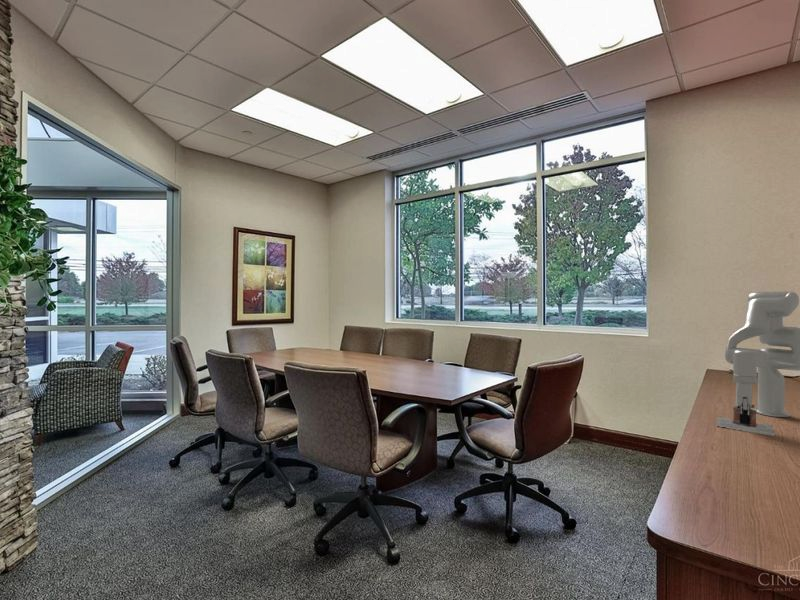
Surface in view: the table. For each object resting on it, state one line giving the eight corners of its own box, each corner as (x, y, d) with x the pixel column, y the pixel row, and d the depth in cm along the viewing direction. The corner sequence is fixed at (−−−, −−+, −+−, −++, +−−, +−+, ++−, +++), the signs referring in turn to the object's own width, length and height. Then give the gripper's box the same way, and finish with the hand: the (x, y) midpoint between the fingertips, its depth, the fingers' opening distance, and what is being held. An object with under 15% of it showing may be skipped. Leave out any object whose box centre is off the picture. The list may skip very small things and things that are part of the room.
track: (717, 420, 178) (717, 416, 178) (771, 429, 167) (771, 424, 167) (716, 426, 169) (716, 422, 169) (774, 436, 157) (774, 431, 157)
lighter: (730, 424, 171) (731, 401, 171) (735, 423, 172) (735, 400, 172) (754, 429, 163) (754, 405, 163) (758, 428, 165) (758, 404, 165)
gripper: (732, 375, 177) (732, 416, 177) (733, 381, 164) (733, 425, 164) (755, 377, 172) (755, 419, 172) (758, 383, 159) (757, 429, 159)
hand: (744, 422), depth 168 cm, fingers closed on lighter, 4 cm apart
